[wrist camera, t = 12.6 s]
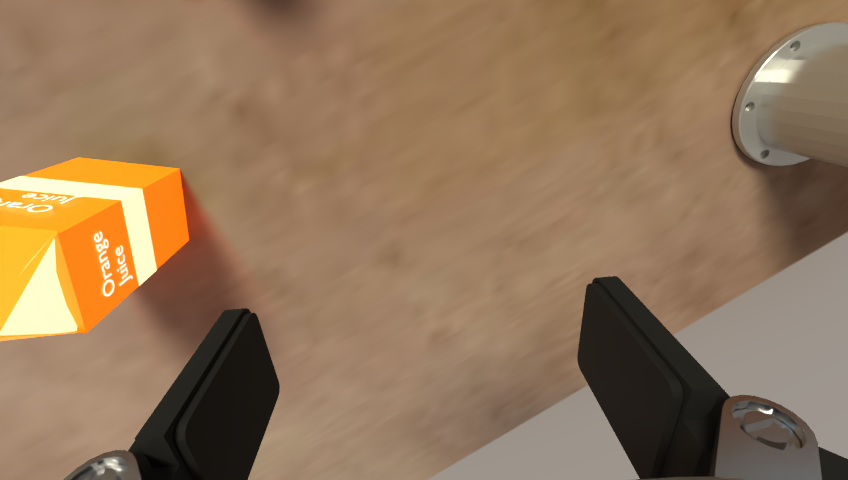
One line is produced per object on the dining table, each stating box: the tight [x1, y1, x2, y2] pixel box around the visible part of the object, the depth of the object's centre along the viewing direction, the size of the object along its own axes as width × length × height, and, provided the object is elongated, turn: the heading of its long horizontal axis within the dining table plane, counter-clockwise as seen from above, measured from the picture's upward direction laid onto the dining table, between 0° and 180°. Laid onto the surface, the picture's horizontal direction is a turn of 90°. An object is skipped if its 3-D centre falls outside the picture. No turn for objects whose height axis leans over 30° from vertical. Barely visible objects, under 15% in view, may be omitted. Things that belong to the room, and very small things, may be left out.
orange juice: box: [0, 158, 189, 341], centre depth 28 cm, size 8×9×20 cm
